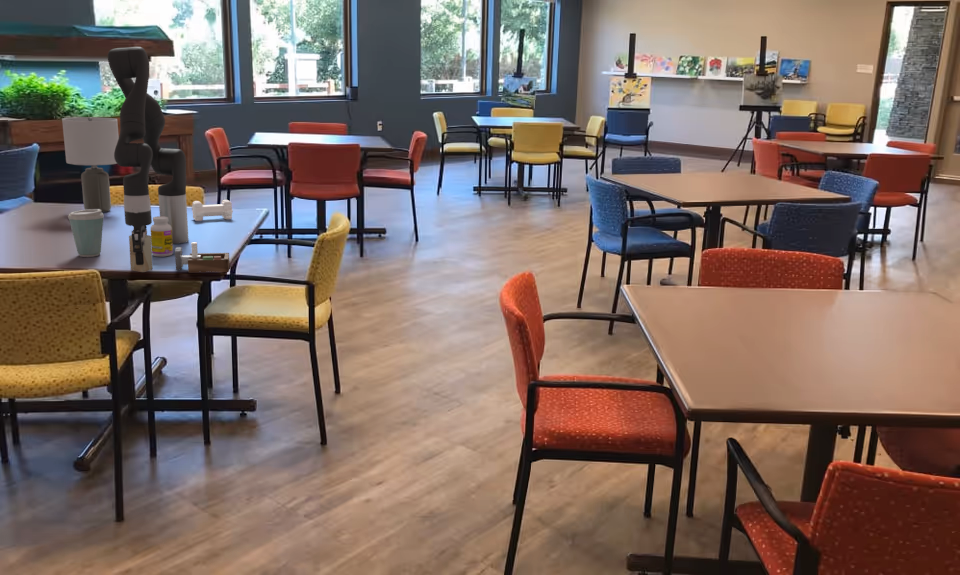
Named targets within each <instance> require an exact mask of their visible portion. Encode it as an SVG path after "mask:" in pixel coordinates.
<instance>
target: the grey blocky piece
mask: <svg viewBox="0 0 960 575" xmlns="http://www.w3.org/2000/svg"><path fill="white" fill-rule="evenodd" d="M190 244H191V246H190V248H191V253H192V255H190V254H189V255H187V254H186V255H183V247H181V246H176V247H175V250H174V260H175V271H182V269H183V267H184V266H183V265H185V266H186V265H187V266H188V259H201V255H198V242H194V241H193V242H191V243H190Z"/></svg>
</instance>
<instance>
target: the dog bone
mask: <svg viewBox="0 0 960 575" xmlns="http://www.w3.org/2000/svg"><path fill="white" fill-rule="evenodd" d="M191 204H192V207H191V211H192V218H193V220H195V221H196V222H202V221H203V220H204V217H218V216H221V217H222V218H223V219H224V220H231V219H232V218H233V212H234V210H233V204H232V201H230V200H228V199H223V200H222V201H221V202H220V204H218V203H217V204H203V203H202V202H201V201H199V200H194V201H193V202H192V203H191Z"/></svg>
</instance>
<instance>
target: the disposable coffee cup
mask: <svg viewBox="0 0 960 575" xmlns="http://www.w3.org/2000/svg"><path fill="white" fill-rule="evenodd" d="M104 217H105V216H104V212H103V213H102V211H101V210H100V209H88V210H85V209H81V210H76V211H72V212H70V213H69V214H68V216H67V218H68V220H69V224H70V228H71V232H72V236H73V241H74V243H75V247H76V251H77V254H78V256H79V257H81V258H82V257H84V258H91V257H98V256H100V255H101V252H102V251H101V250H102V238H103V229H104V228H103V227H104V226H103V224H104Z"/></svg>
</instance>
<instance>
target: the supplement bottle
mask: <svg viewBox="0 0 960 575" xmlns="http://www.w3.org/2000/svg"><path fill="white" fill-rule="evenodd" d="M152 222H153V224H151V226H150V236H151V248H152V257H153V256H154V257H158V258H165V257H166V258H167V257H171V256H172V255H173V254H174V246H173V245H174V244H173V241H172V227H171V226H170V225H169V224H168V217H165V216H160V215H158V216H153V217H152Z"/></svg>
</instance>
